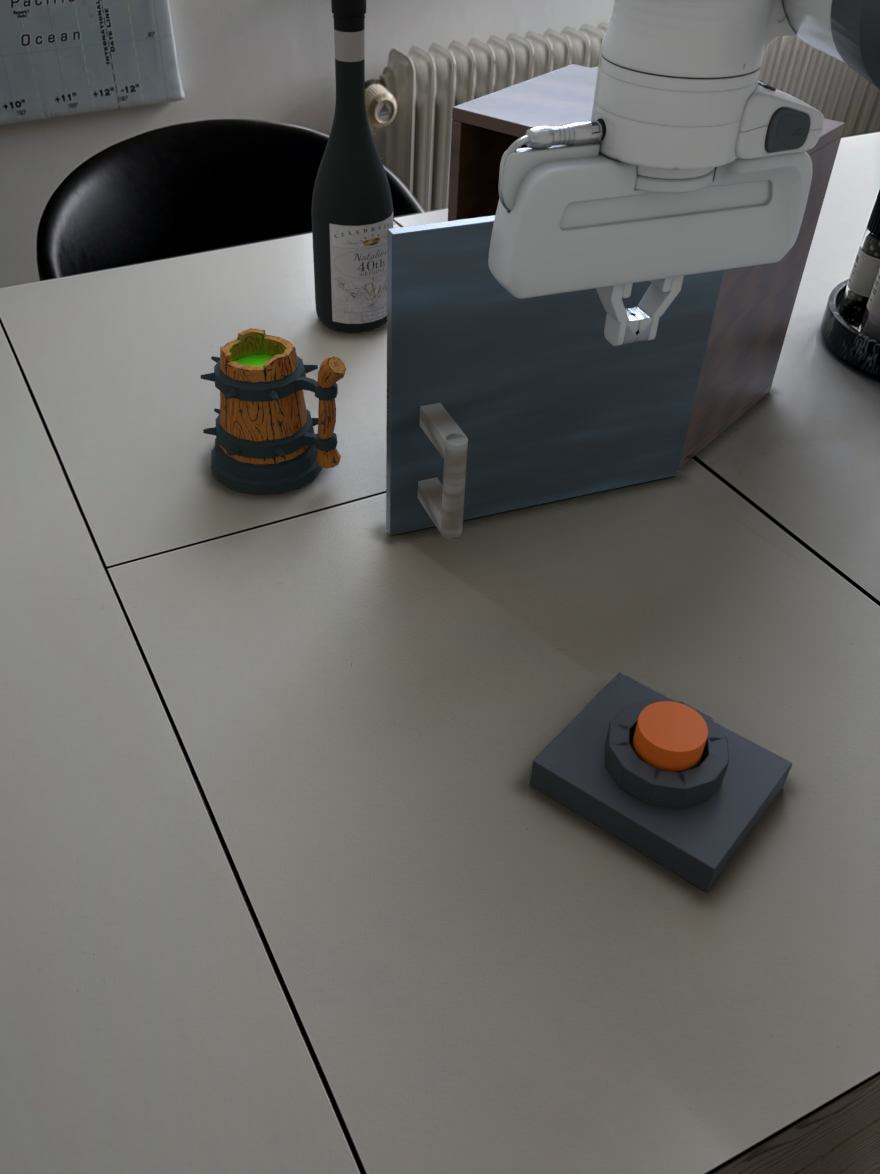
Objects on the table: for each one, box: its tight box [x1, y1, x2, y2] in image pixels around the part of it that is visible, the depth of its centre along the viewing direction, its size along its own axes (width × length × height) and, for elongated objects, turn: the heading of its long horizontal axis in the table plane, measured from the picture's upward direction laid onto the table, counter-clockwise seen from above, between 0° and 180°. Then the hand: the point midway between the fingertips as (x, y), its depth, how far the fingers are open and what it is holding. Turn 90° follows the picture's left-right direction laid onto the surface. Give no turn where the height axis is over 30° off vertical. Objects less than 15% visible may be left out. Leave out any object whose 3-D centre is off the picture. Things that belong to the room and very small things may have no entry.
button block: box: [529, 672, 793, 893], centre depth 62 cm, size 12×10×4 cm
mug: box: [200, 327, 347, 496], centre depth 85 cm, size 13×10×12 cm
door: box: [385, 215, 724, 540], centre depth 75 cm, size 7×26×24 cm, turn 110°
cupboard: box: [447, 63, 846, 470], centre depth 92 cm, size 18×26×24 cm
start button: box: [633, 701, 708, 772], centre depth 61 cm, size 4×4×2 cm
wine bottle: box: [310, 0, 394, 334], centre depth 99 cm, size 8×8×30 cm
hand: (628, 339), depth 69 cm, fingers closed
